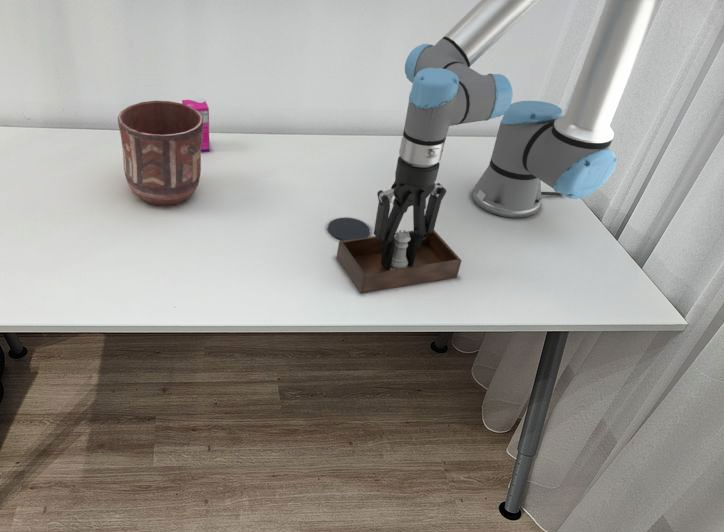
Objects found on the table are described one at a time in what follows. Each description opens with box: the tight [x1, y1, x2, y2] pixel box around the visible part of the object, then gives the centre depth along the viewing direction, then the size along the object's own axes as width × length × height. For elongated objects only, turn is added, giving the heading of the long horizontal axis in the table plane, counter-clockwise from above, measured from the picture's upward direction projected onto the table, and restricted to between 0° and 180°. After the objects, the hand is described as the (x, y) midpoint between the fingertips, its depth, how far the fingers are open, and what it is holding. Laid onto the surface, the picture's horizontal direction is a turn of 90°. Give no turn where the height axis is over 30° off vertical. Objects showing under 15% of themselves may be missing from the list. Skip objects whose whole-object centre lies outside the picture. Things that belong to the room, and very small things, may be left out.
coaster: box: [327, 217, 371, 241], centre depth 157 cm, size 9×9×1 cm
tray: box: [335, 229, 462, 295], centre depth 146 cm, size 21×12×4 cm, turn 108°
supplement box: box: [181, 97, 210, 153], centre depth 179 cm, size 6×6×12 cm
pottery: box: [117, 100, 203, 207], centre depth 159 cm, size 18×18×18 cm
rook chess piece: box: [390, 229, 411, 270], centre depth 145 cm, size 4×4×8 cm
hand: (396, 264), depth 147 cm, fingers closed on rook chess piece, 4 cm apart
